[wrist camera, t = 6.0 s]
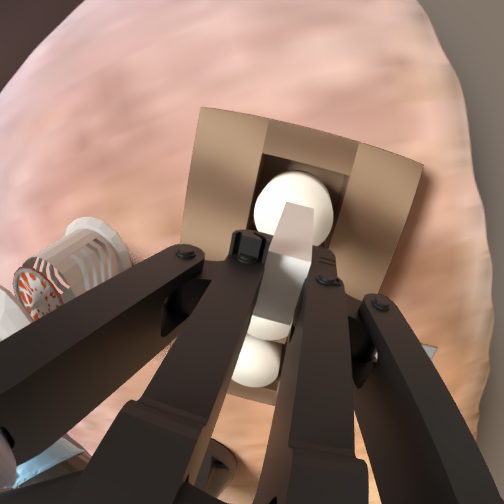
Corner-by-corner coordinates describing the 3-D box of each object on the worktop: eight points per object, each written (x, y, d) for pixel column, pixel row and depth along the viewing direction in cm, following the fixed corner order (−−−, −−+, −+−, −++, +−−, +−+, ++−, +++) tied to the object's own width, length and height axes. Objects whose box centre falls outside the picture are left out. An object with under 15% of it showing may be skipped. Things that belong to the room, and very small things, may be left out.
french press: (127, 220, 29) (-91, 388, 7) (139, 319, 34) (6, 498, 11) (57, 213, 31) (-127, 329, 8) (73, 302, 35) (-59, 437, 13)
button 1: (275, 370, 31) (270, 392, 29) (228, 357, 32) (220, 378, 29) (288, 334, 29) (284, 356, 26) (236, 320, 30) (228, 341, 27)
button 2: (294, 323, 27) (291, 346, 24) (237, 308, 27) (228, 330, 24) (311, 273, 25) (310, 293, 22) (249, 256, 25) (240, 275, 22)
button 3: (320, 244, 24) (320, 261, 21) (255, 226, 24) (247, 242, 21) (338, 180, 22) (342, 189, 19) (269, 162, 22) (263, 168, 19)
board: (317, 391, 33) (315, 414, 30) (180, 353, 35) (169, 374, 32) (409, 158, 23) (423, 164, 19) (215, 108, 24) (200, 106, 21)
